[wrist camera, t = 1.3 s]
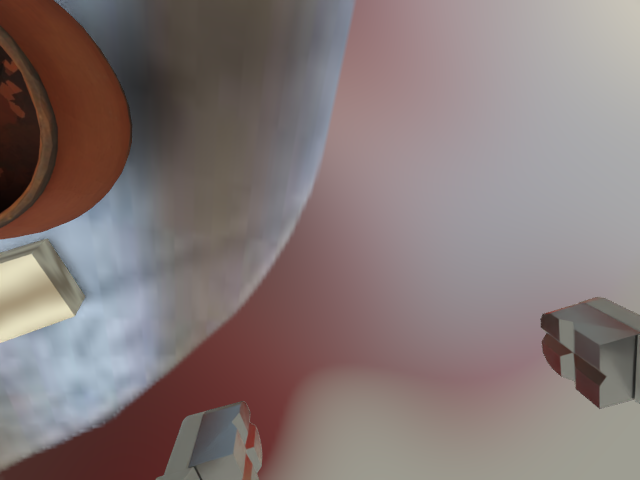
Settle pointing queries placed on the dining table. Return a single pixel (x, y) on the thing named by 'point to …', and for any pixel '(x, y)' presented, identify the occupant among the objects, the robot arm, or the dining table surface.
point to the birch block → (35, 290)
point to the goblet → (55, 119)
